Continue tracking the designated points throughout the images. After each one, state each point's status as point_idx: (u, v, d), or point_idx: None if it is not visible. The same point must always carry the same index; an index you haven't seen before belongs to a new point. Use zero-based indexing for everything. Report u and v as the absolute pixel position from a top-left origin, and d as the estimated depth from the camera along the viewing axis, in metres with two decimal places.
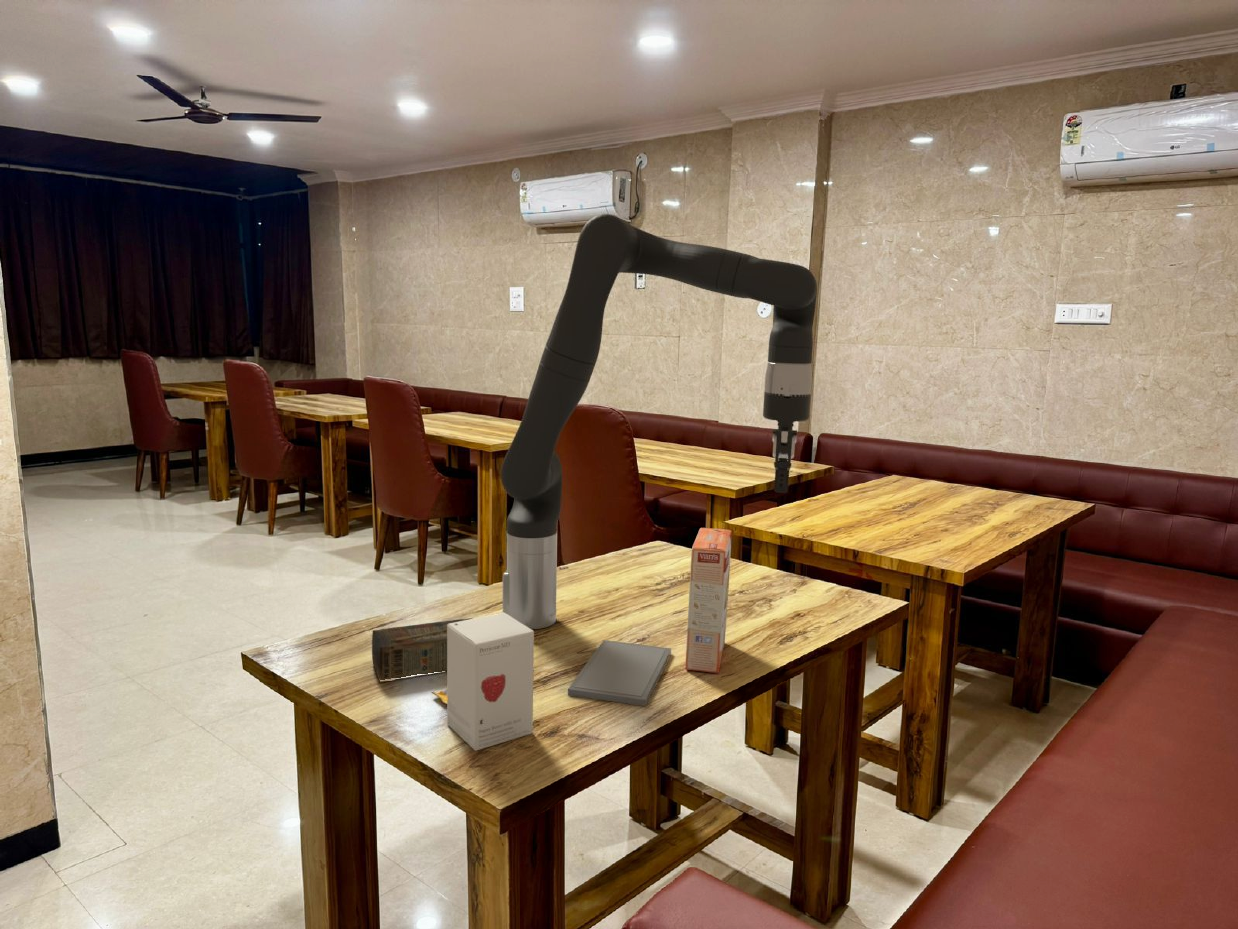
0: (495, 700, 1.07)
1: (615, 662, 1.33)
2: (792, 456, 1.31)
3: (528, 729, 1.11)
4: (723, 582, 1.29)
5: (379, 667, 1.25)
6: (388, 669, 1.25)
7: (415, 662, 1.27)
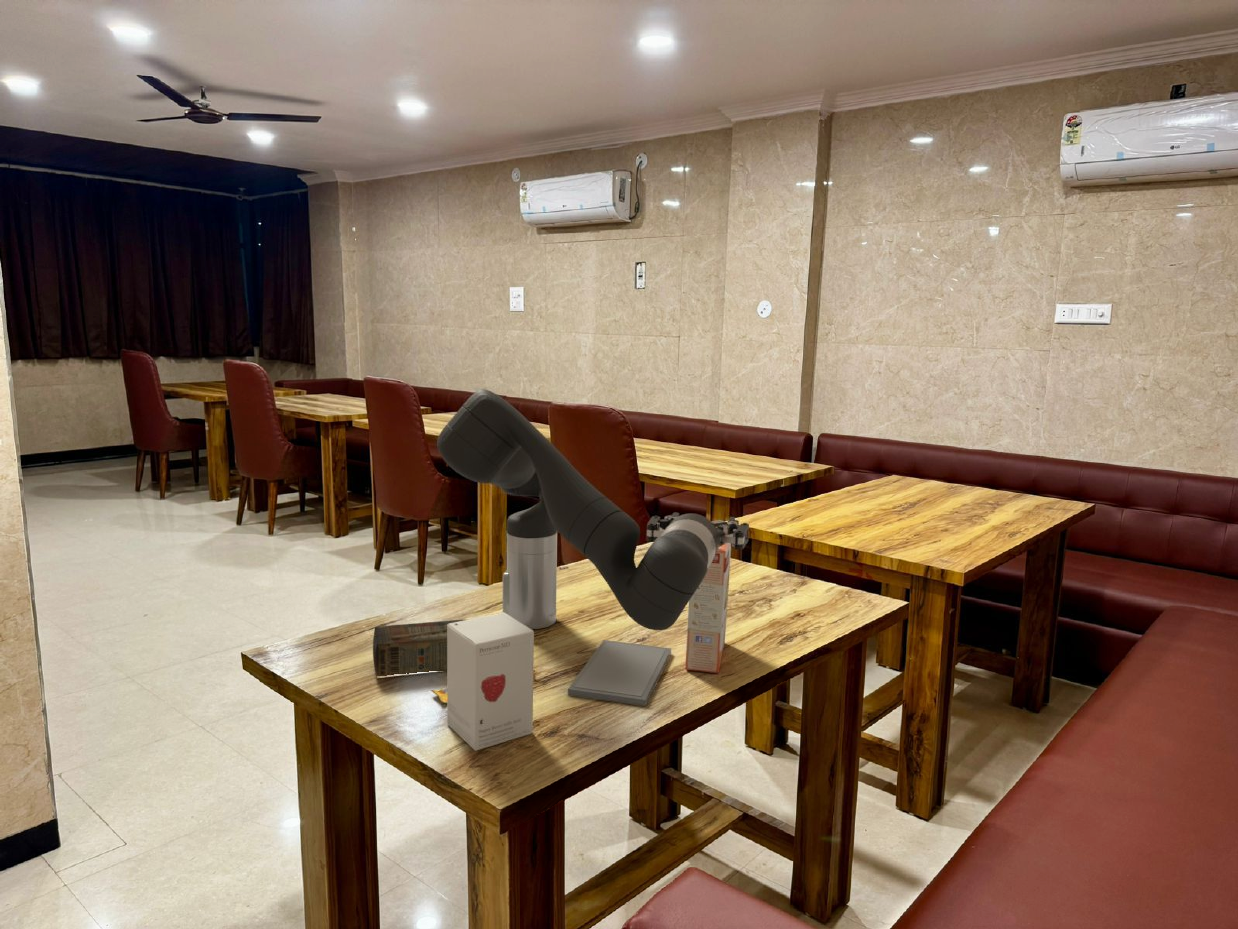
0: (495, 700, 1.07)
1: (615, 662, 1.33)
2: None
3: (528, 729, 1.11)
4: (723, 582, 1.29)
5: (376, 663, 1.26)
6: (384, 666, 1.26)
7: (411, 660, 1.27)
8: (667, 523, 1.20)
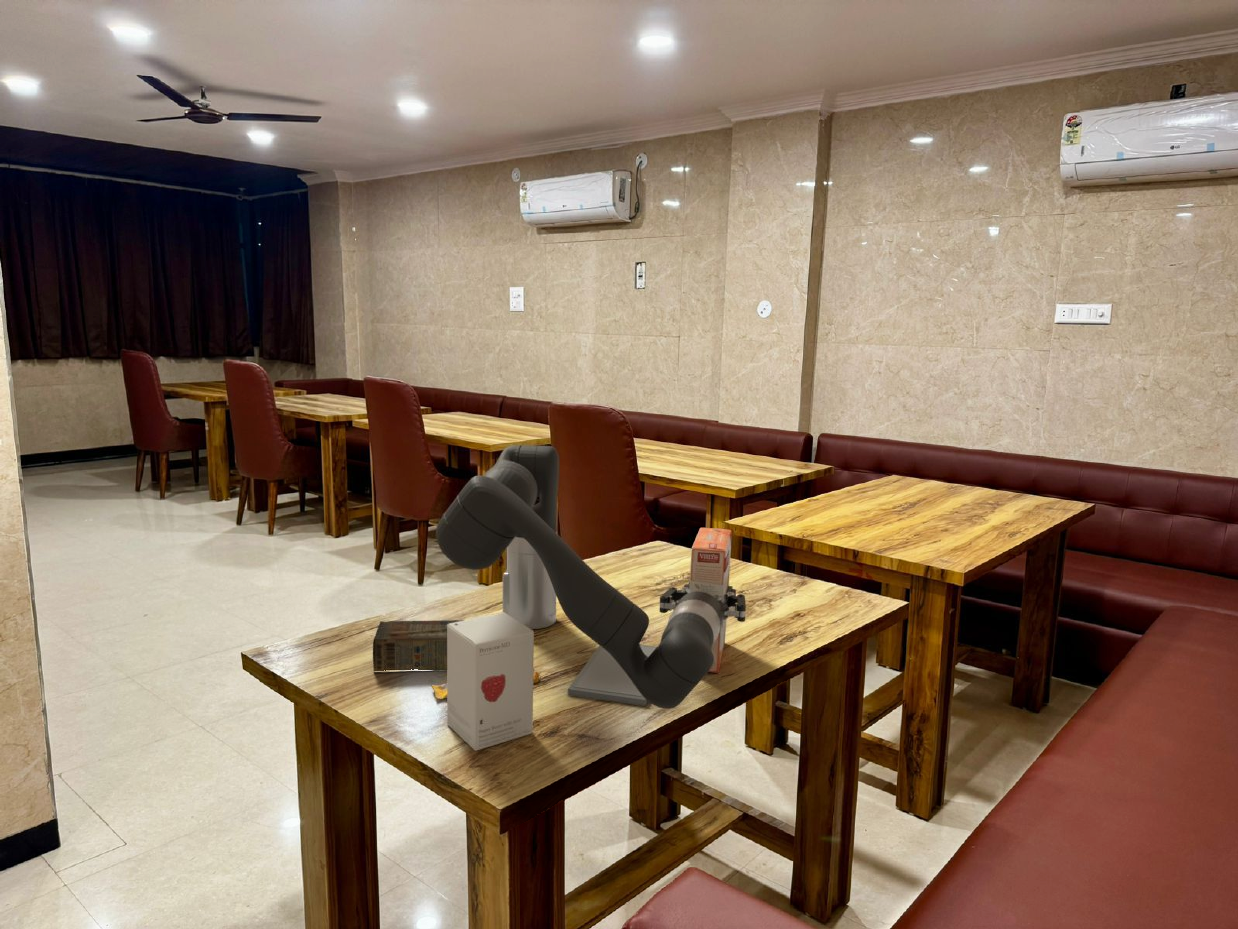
0: (495, 700, 1.07)
1: (615, 662, 1.33)
2: None
3: (528, 729, 1.11)
4: (723, 582, 1.29)
5: (373, 658, 1.28)
6: (381, 661, 1.28)
7: (407, 657, 1.28)
8: (683, 594, 1.33)
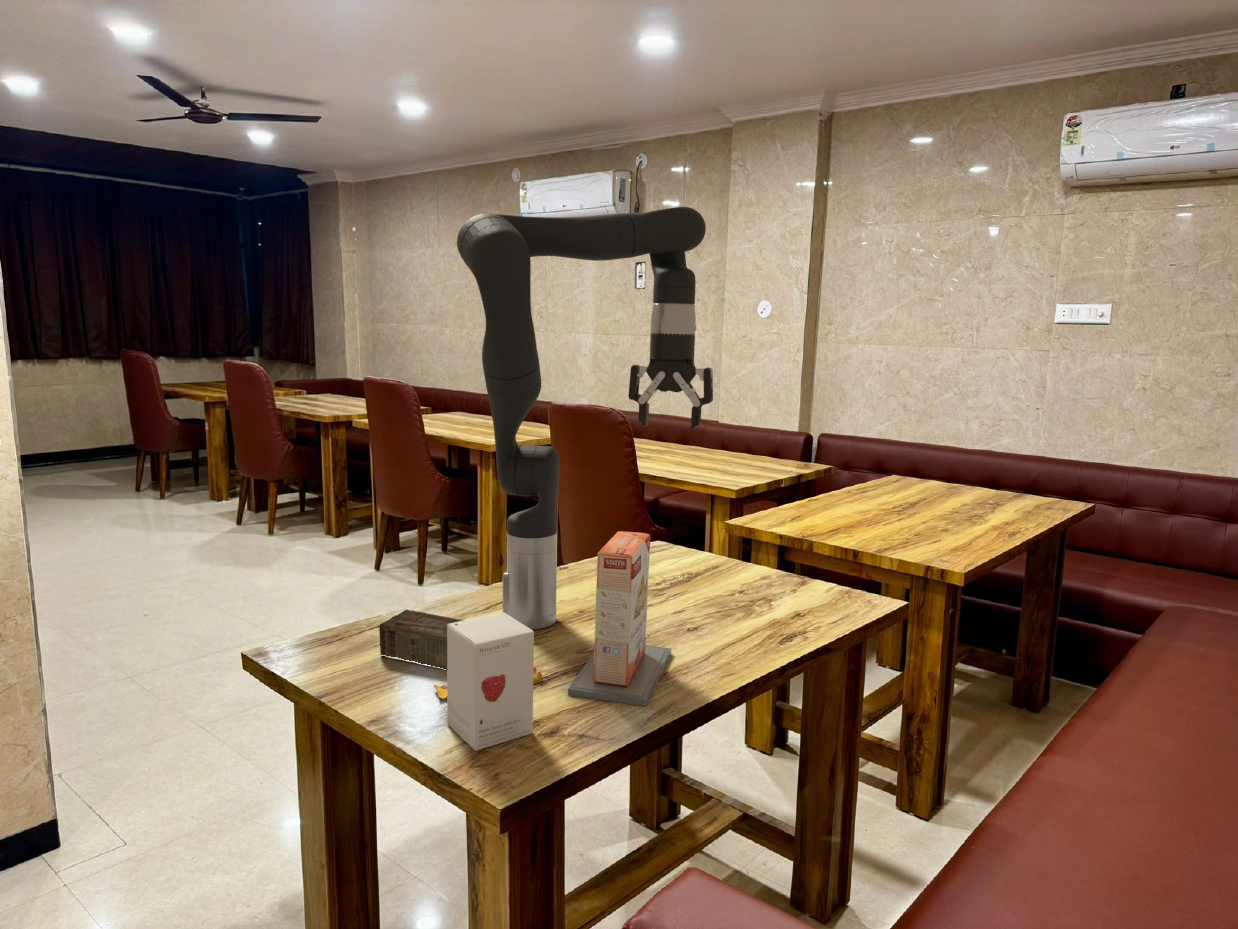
0: (495, 700, 1.07)
1: None
2: None
3: (528, 729, 1.11)
4: (631, 590, 1.21)
5: (380, 642, 1.35)
6: (385, 646, 1.34)
7: (404, 647, 1.32)
8: None
